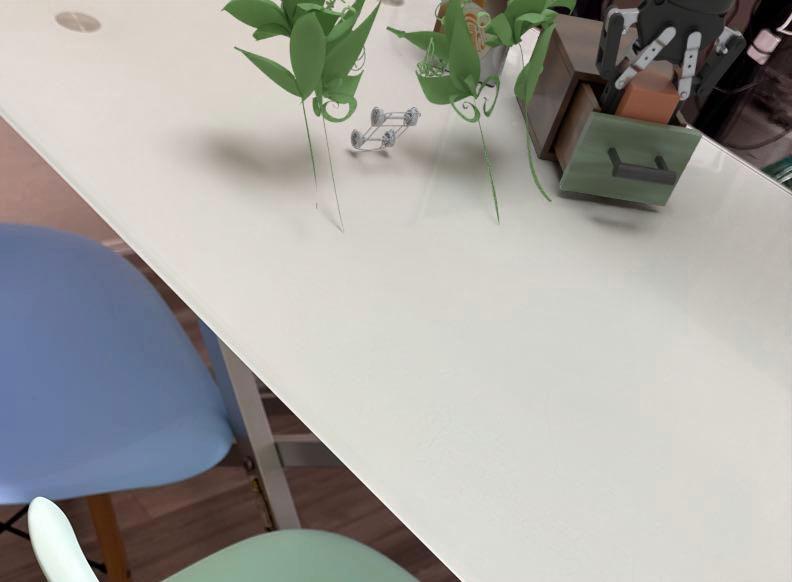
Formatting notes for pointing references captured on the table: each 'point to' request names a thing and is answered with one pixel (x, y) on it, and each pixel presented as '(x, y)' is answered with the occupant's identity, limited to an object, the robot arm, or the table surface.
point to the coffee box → (479, 35)
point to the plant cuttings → (341, 46)
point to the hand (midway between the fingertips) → (629, 125)
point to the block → (649, 98)
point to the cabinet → (569, 76)
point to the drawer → (620, 151)
